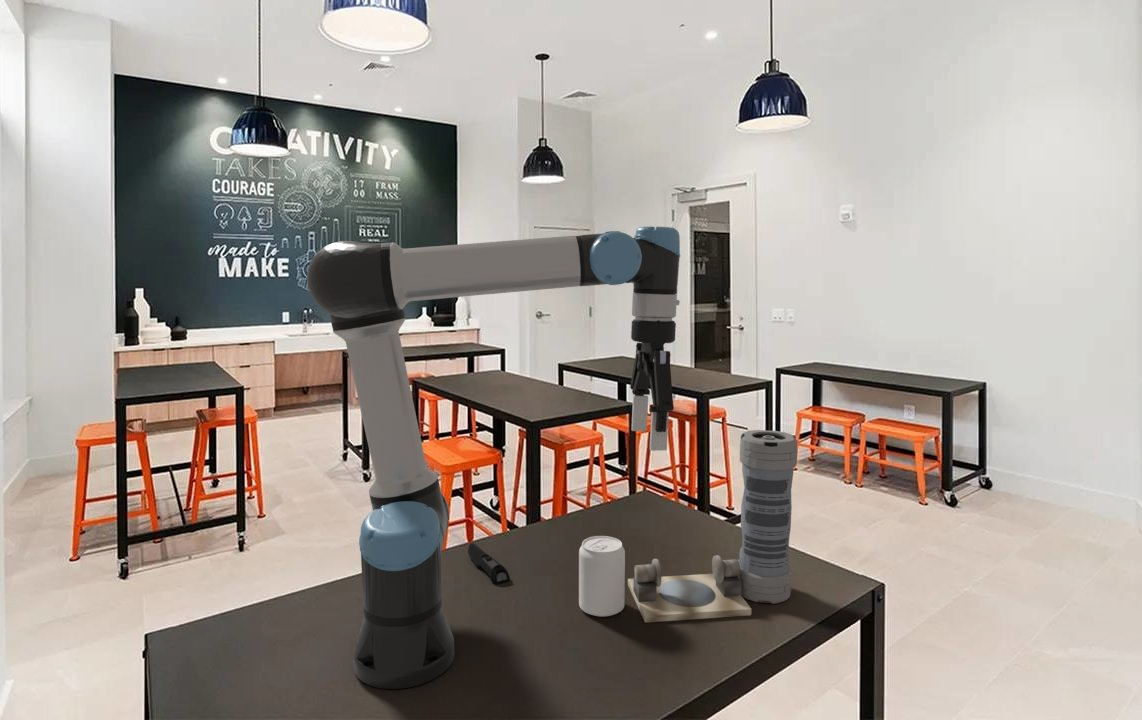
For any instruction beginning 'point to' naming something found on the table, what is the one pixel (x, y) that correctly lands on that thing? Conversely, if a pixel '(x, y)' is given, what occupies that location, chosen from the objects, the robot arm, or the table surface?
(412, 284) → the robot arm
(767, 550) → the canister
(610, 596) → the beverage can
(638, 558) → the table surface
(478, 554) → the electric trimmer
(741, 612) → the cradle
